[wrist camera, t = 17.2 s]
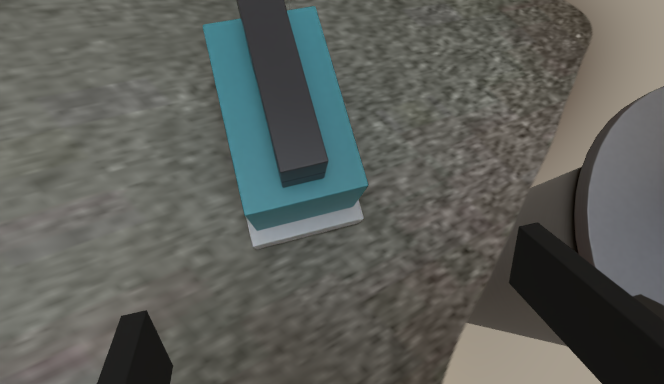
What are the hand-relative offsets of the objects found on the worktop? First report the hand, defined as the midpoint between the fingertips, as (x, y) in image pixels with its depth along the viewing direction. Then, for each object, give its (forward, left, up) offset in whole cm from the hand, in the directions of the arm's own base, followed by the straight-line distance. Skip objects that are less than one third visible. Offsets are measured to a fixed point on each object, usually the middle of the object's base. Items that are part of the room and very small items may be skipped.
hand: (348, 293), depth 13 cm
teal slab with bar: (+11, -7, -14) cm, 19 cm away
